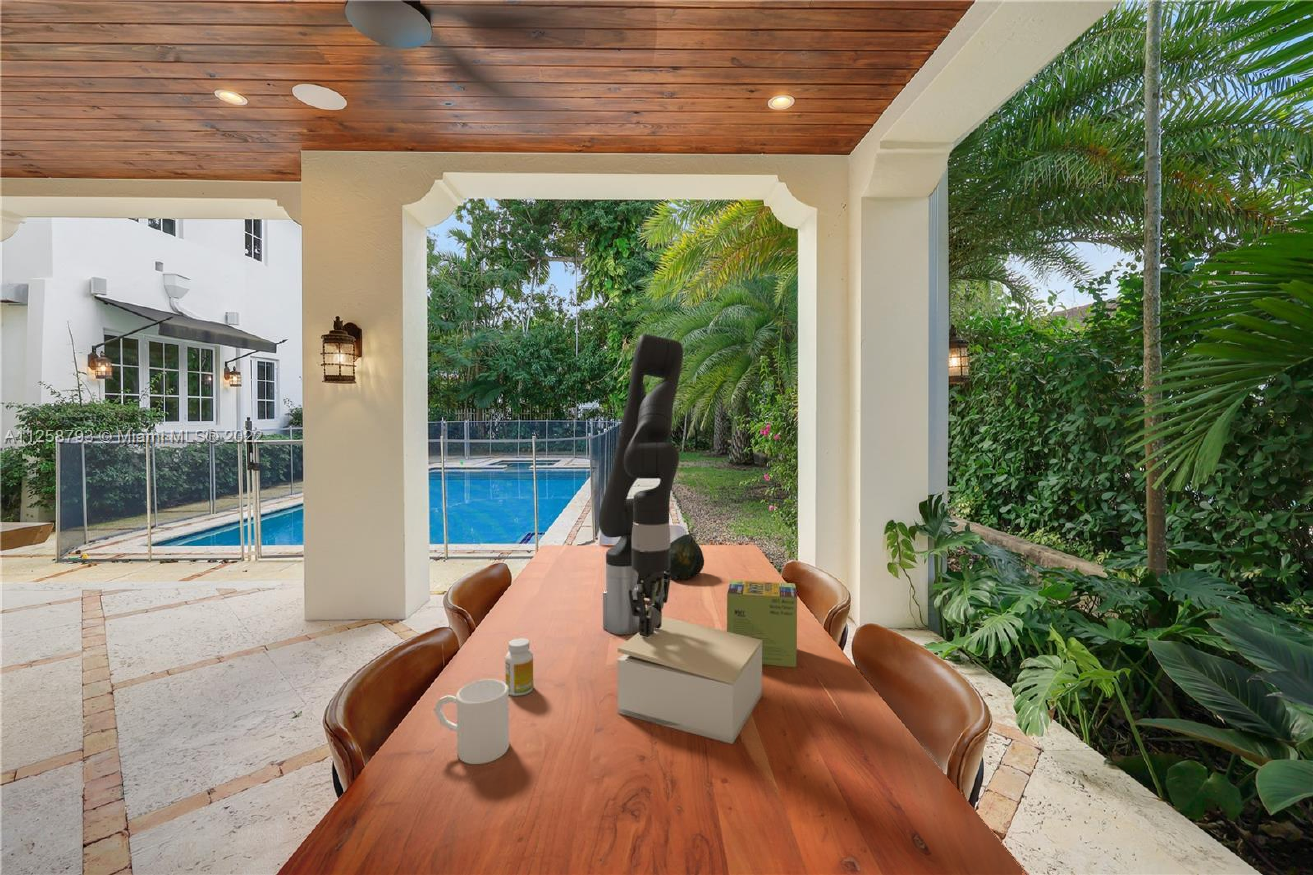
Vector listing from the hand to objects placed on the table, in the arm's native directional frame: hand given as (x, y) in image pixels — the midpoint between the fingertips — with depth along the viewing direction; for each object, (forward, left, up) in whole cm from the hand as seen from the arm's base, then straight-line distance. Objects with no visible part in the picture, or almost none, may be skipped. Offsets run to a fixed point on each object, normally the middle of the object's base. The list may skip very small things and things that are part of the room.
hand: (650, 631), depth 108 cm
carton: (+9, 0, -12) cm, 15 cm away
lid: (+9, 0, -2) cm, 9 cm away
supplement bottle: (-24, -10, -13) cm, 29 cm away
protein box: (+15, +27, -13) cm, 33 cm away
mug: (-18, -29, -13) cm, 37 cm away
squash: (-26, +76, -13) cm, 81 cm away
